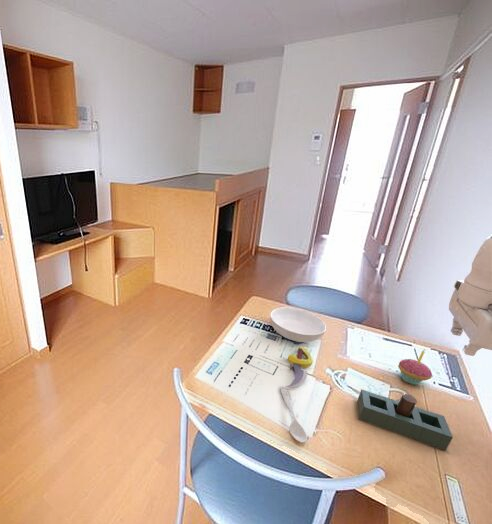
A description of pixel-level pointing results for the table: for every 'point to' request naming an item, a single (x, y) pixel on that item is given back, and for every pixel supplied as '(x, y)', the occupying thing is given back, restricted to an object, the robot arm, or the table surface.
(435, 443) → the peg block
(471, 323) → the robot arm
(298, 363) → the knife
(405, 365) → the cupcake
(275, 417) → the table surface
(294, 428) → the spoon
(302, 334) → the serving bowl
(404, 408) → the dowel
